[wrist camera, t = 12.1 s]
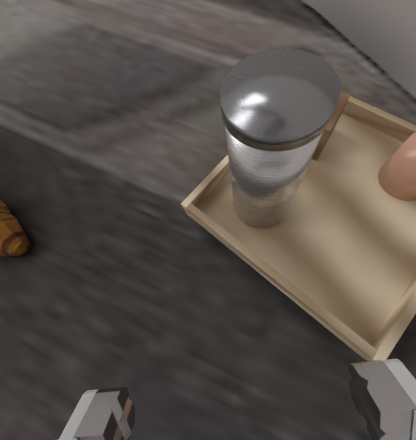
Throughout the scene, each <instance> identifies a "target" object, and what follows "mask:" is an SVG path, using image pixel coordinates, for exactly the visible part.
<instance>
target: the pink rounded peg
mask: <svg viewBox="0 0 416 440" xmlns="http://www.w3.org/2000/svg"><path fill="white" fill-rule="evenodd" d="M378 181H379V184H380V186H381V187H382V189H383V190H384V191H385V192H386V193H387V194H389V195H390V196H392V197H394V198H397V199H400V200H404V201H414V200H416V132H415V133H413V134H412V135H411V136H410V137H409V138H408V139H407V140H406V141H405V142H404V143H403V144H402V145H401V147H400V148H399V149H398V150H397V151H396V152H395V153H394V154H393V155H392V156H391V157H390V158H389V159H388V161H387V162H386V163H385V164H384V165H383V166H382V167H381V168H380V170H379V173H378Z"/></svg>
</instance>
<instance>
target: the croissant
mask: <svg viewBox="0 0 416 440" xmlns="http://www.w3.org/2000/svg"><path fill="white" fill-rule="evenodd" d="M30 248H31V243H30V241H29V239H28V237H27V235H26V233H25V232H24V230H23V229H22V227H21V225H20V224H19V222H18V220H17V219H16V217H15V216H13V215H12V214H11V213H10V211H9V209H8V207H7V205H6V204H5V203H4V202H3V201H2V200H1V199H0V256H24V255H25V254H27V253H28V252H29V250H30Z"/></svg>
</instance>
